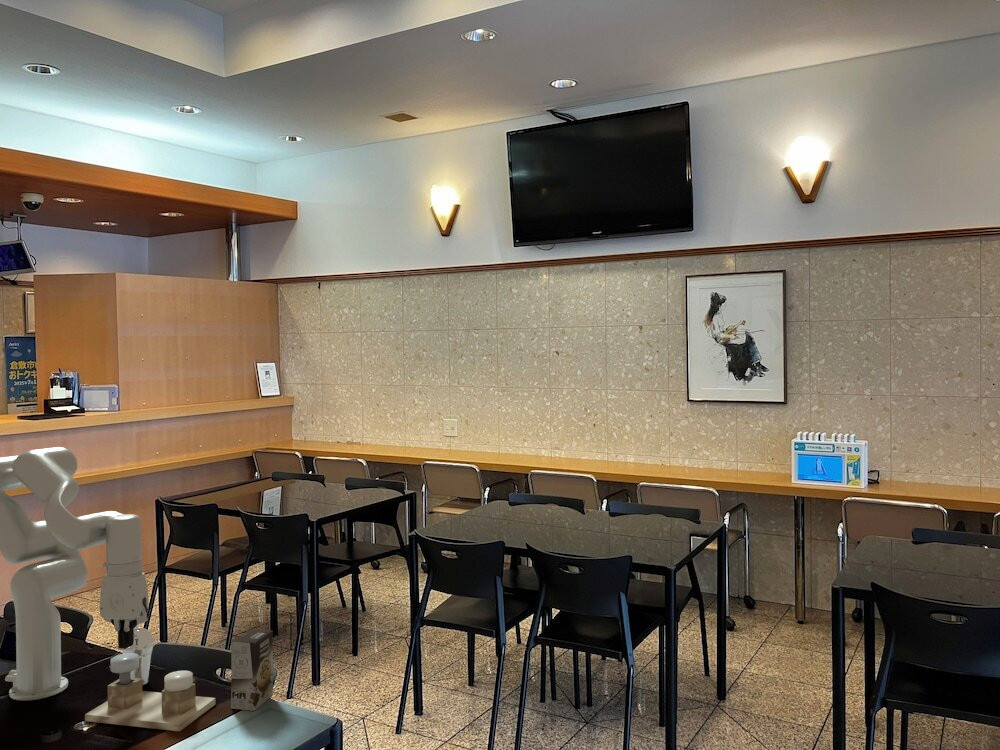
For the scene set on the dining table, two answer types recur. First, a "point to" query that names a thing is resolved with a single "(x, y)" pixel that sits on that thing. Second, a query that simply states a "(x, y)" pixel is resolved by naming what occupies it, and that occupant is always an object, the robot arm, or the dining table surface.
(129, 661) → the knob
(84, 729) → the dining table surface
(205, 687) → the dining table surface
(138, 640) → the cup with straw
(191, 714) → the wooden mounting board
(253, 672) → the coffee box
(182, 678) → the knob
